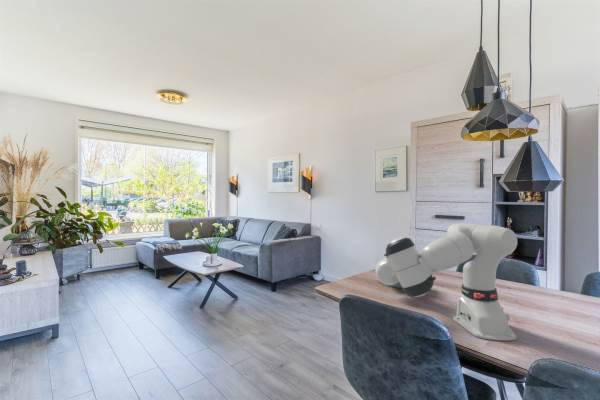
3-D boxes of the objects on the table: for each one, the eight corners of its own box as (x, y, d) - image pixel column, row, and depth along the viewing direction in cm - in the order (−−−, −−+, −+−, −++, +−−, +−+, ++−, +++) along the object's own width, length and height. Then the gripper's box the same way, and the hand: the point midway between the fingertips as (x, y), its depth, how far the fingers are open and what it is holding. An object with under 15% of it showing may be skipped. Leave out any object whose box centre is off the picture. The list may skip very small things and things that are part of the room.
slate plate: (423, 288, 157) (423, 285, 157) (380, 287, 161) (380, 283, 161) (413, 277, 179) (413, 273, 179) (376, 275, 182) (376, 272, 182)
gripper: (382, 277, 157) (379, 270, 170) (423, 278, 154) (416, 271, 167) (382, 265, 156) (379, 259, 170) (423, 267, 153) (416, 260, 167)
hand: (398, 265), depth 169 cm, fingers open, 8 cm apart
